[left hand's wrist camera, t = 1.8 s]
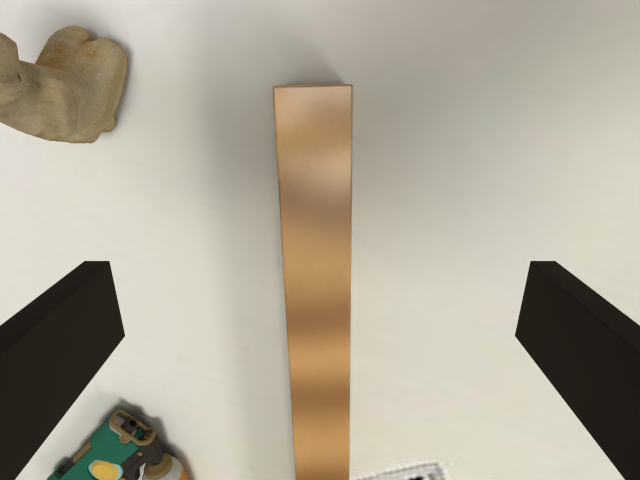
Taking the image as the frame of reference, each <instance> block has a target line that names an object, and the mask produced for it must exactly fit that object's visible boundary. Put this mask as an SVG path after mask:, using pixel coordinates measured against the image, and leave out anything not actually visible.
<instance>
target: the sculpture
mask: <svg viewBox="0 0 640 480" xmlns="http://www.w3.org/2000/svg"><path fill="white" fill-rule="evenodd" d="M126 73H127V56H126V53H125V50H124V49H123V48H122V47H121V46H119V45H118V44H117V43H115V42H113V41H111V40H110V39H108V38H105V37H99V38H98V39H96V40H95V41H94V40H93V39H92V37H91V36H90V34H89V33H88V32H87V31H86V30H85V29H83V28H80V27H77V26H69V27H66V28H63V29H61V30H58V31H57V32H55V33H54V34H53V35H52V36H50V38H49V40H48V41H47V43H46V45H45V46H44V48H43V50H42V52H41V53H40V55H39V57H38V59H37V61H36V63H35V64H33V63H28V62H24V61H20V60H19V57H18V49H17V45H16V43H15V42H14V41H13V40H11V39H10V38H9V37H7V36H6V35H4V34H2V33H0V122H2V123H4V124H6V125H8V126H10V127H12V128H14V129H16V130H19V131H21V132H24V133H26V134H29V135H32V136H35V137H39V138H42V139H45V140H49V141H61V142H69V143H93V142H95V141H96V140H97V139H98V137H99V136H100V134H101V132H110V131H112V130H113V129H114V127H115V124H116V118H115V116H114V115H115V112H116V110H117V108H118V105H119V103H120V99H121V96H122V92H123V88H124V83H125V78H126Z"/></svg>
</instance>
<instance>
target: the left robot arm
mask: <svg viewBox="0 0 640 480" xmlns="http://www.w3.org/2000/svg"><path fill="white" fill-rule="evenodd" d="M124 336H125V333H124V329H123V324H122V319H121V314H120V310H119V305H118V300H117V295H116V291H115V286H114V281H113V276H112V272H111V267H110V262H109V261H84V262H83V263H82V264H80V265H79V266H78V267H76V268H75V269H74V270H72V271H71V272H70V273H69V274H67V275H66V276H65V277H63V278H62V279H61V280H59V281H58V282H57V283H56V284H54V285H53V286H52V287H50V288H49V289H48V290H46V291H45V292H44V293H42V294H41V295H40V296H39V297H37V298H36V299H35V300H33V301H32V302H31V303H29V304H28V305H27V306H25V307H24V308H23V309H22V310H20V311H19V312H18V313H16V314H15V315H14V316H12V317H11V318H10V319H8V320H7V321H6V322H5V323H3V324H2V325H1V326H0V480H15V479H16V478H17V476H18V475H19V474H20V472H21V471H22V470H23V468H24V467H25V466H26V464H27V463H28V462H29V461H30V459H31V458H32V457H33V455H34V454H35V453H36V451H37V450H38V449H39V447H40V446H41V445H42V444H43V442H44V441H45V440H46V438H47V437H48V436H49V434H50V433H51V432H52V430H53V429H54V428H55V427H56V425H57V424H58V423H59V421H60V420H61V419H62V417H63V416H64V415H65V414H66V412H67V411H68V410H69V408H70V407H71V406H72V404H73V403H74V402H75V400H76V399H77V398H78V397H79V395H80V394H81V393H82V391H83V390H84V389H85V387H86V386H87V385H88V383H89V382H90V381H91V380H92V378H93V377H94V376H95V374H96V373H97V372H98V370H99V369H100V368H101V366H102V365H103V364H104V363H105V361H106V360H107V359H108V357H109V356H110V355H111V353H112V352H113V351H114V350H115V348H116V347H117V346H118V344H119V343H120V342H121V340H122V339H123V338H124ZM515 336H516V338H517V339H518V340H519V342H520V343H521V344H522V346H523V347H524V348H525V350H526V351H527V352H528V353H529V355H530V356H531V357H532V359H533V360H534V361H535V363H536V364H537V365H538V366H539V368H540V369H541V370H542V372H543V373H544V374H545V376H546V377H547V378H548V380H549V381H550V382H551V383H552V385H553V386H554V387H555V389H556V390H557V391H558V393H559V394H560V395H561V397H562V398H563V399H564V400H565V402H566V403H567V404H568V406H569V407H570V408H571V410H572V411H573V412H574V414H575V415H576V416H577V417H578V419H579V420H580V421H581V423H582V424H583V425H584V427H585V428H586V429H587V430H588V432H589V433H590V434H591V436H592V437H593V438H594V440H595V441H596V442H597V444H598V445H599V446H600V447H601V449H602V450H603V451H604V453H605V454H606V455H607V457H608V458H609V459H610V461H611V462H612V463H613V464H614V466H615V467H616V468H617V470H618V471H619V472H620V474H621V475H622V476H623V478H624V479H625V480H640V326H639V325H638V324H637V323H635V322H634V321H633V320H632V319H630V318H629V317H628V316H626V315H625V314H624V313H622V312H621V311H620V310H618V309H617V308H616V307H615V306H613V305H612V304H611V303H609V302H608V301H607V300H605V299H604V298H603V297H601V296H600V295H599V294H598V293H596V292H595V291H594V290H592V289H591V288H590V287H588V286H587V285H586V284H584V283H583V282H582V281H581V280H579V279H578V278H577V277H575V276H574V275H573V274H571V273H570V272H569V271H568V270H566V269H565V268H564V267H562V266H561V265H560V264H558V263H557V262H556V261H531V262H530V267H529V272H528V276H527V281H526V286H525V291H524V295H523V300H522V305H521V310H520V314H519V319H518V324H517V329H516V333H515Z"/></svg>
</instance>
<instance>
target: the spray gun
mask: <svg viewBox="0 0 640 480" xmlns="http://www.w3.org/2000/svg"><path fill="white" fill-rule="evenodd" d="M116 414H121V415H123V416H124V417H126V418H127V420H126V421H125V420H124V419H122V418H121V417H119V416H115V415H116ZM138 426H139V427H140V428H138V429H136V428H137V427H138ZM142 429H143V430H144V431H146V432H152V434H150V433H148V434H146V435H145V436H143V434H142ZM144 463H146V465H145V468H144V474H143V477H142V480H188V478H187V476H186V473H185V471H184V469H183V466H182V464H181V462H180V461H179V460H178V459H176V458H175V457H171V455H169V454H168V453H162V449H161V446H160V443H159V440H158V437H157V435H156V430H155V429H154V428H152V427H151V428H148V427H146V426H145V425H144V424H142V423H141V422H139V421H138V420H137V419H135V418H134V417H132V416H131V415H130V414H128V413H127V412H125V411H124V410H121V409H119V410H117V411H115V412H114V413H113V415H112V416H111V417H110V418H109V419H108V420H106V421H105V422H104V423H103V424H102V425H101V426H100V427H99V428H98V429H97V430H96V431H95V432H94V433H93V434H92V436H91V439H90V441H89V442H88V443H87V444H86V445H85V446H84V447H83V448H82V449H81V450H80V451H79V452H78V453H77V454H76V455H75V456H74V457H73V461H72V462H71V463H69V464H68V465H65V464H64V465H61V466H60V467H58V468H57V469H56V470H55V471H54V472H53V473H52V474H51V475H50V476H49V477H48V479H47V480H138V479H139V477H140V467H141V466H142V465H143V464H144Z"/></svg>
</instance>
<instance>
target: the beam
mask: <svg viewBox="0 0 640 480" xmlns="http://www.w3.org/2000/svg"><path fill="white" fill-rule="evenodd" d="M273 99H274V116H275V133H276V150H277V167H278V184H279V201H280V218H281V235H282V252H283V268H284V285H285V302H286V319H287V336H288V353H289V370H290V387H291V404H292V421H293V438H294V455H295V472H296V480H349V436H350V319H351V202H352V85H349V84H317V85H282V86H274V87H273Z"/></svg>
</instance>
